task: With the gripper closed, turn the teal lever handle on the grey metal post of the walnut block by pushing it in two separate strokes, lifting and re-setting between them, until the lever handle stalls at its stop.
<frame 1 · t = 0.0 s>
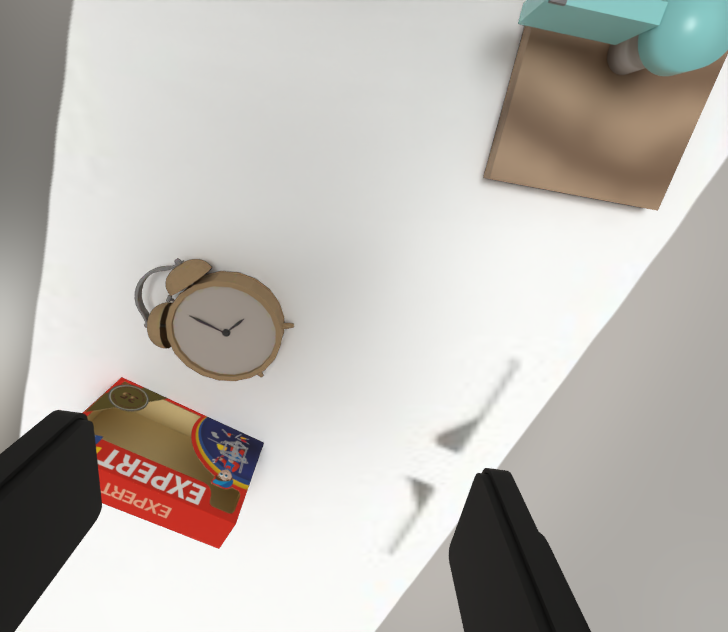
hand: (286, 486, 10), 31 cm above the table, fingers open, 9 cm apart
toy box: (190, 421, 47), on the table
teal lever handle: (624, 21, 26), point 7 cm above the table, hinge at 0.0°
alarm clock: (219, 311, 42), on the table
post block: (611, 59, 33), on the table
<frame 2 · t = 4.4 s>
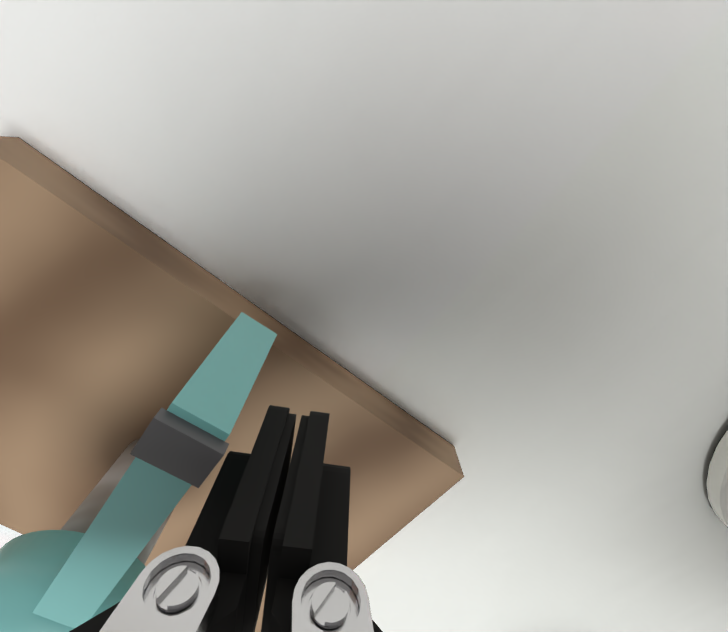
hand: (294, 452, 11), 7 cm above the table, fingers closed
teal lever handle: (125, 519, 11), point 7 cm above the table, hinge at 3.0°, touching gripper
post block: (178, 433, 19), on the table
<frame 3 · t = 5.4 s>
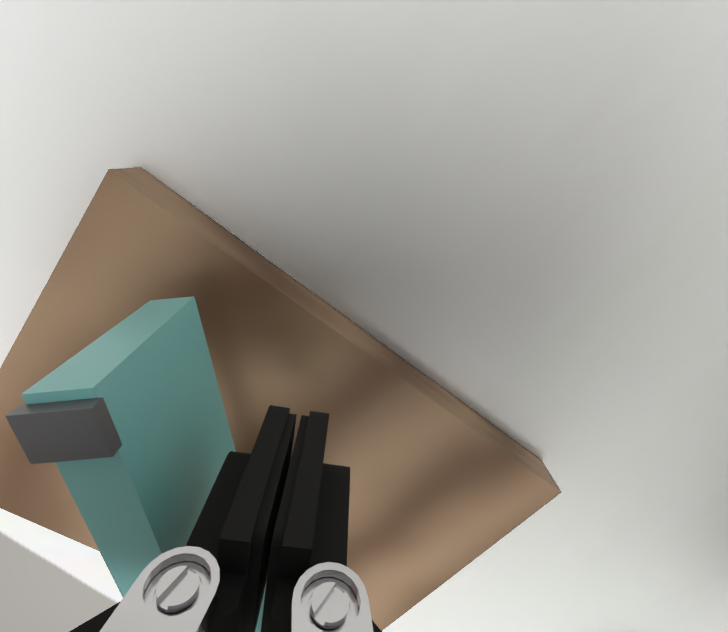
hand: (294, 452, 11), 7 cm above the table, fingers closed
teal lever handle: (197, 539, 11), point 7 cm above the table, hinge at 44.2°, touching gripper
post block: (271, 454, 19), on the table
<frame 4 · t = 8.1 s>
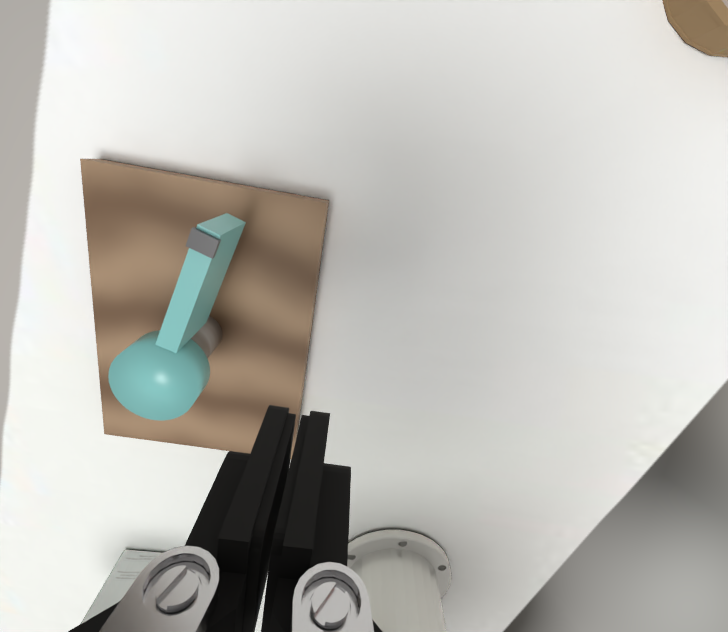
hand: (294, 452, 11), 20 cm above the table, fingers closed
teal lever handle: (187, 318, 23), point 7 cm above the table, hinge at 72.7°
skincare box: (167, 566, 42), on the table
post block: (212, 322, 31), on the table
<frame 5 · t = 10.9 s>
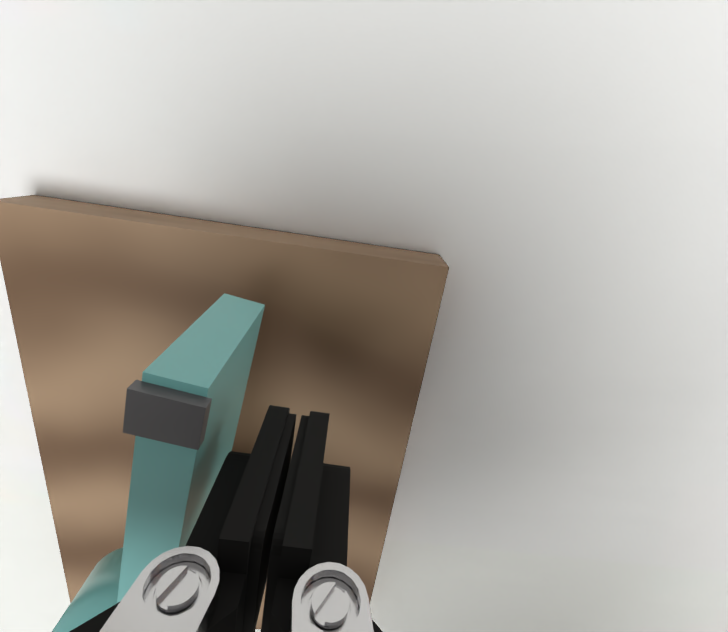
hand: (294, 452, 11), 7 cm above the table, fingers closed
teal lever handle: (181, 519, 11), point 7 cm above the table, hinge at 81.3°, touching gripper
post block: (235, 445, 20), on the table
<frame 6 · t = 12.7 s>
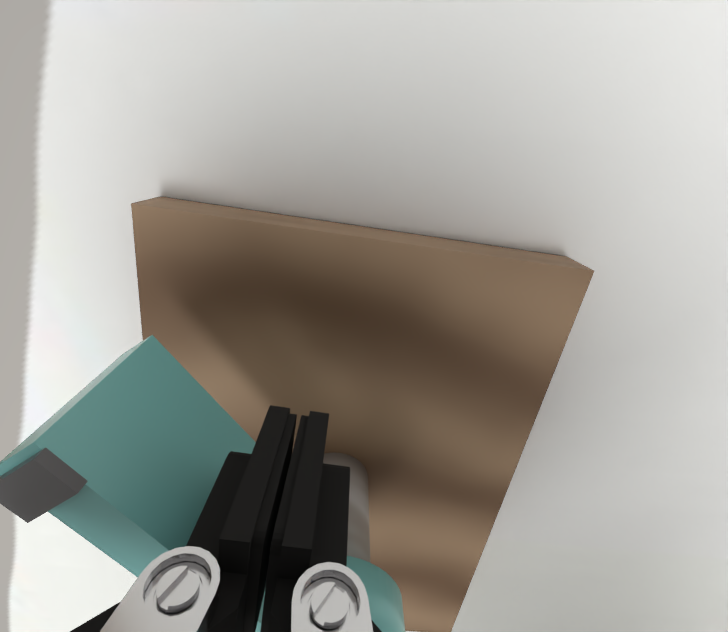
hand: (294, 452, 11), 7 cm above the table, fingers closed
teal lever handle: (252, 542, 11), point 7 cm above the table, hinge at 131.0°, touching gripper
post block: (337, 447, 19), on the table
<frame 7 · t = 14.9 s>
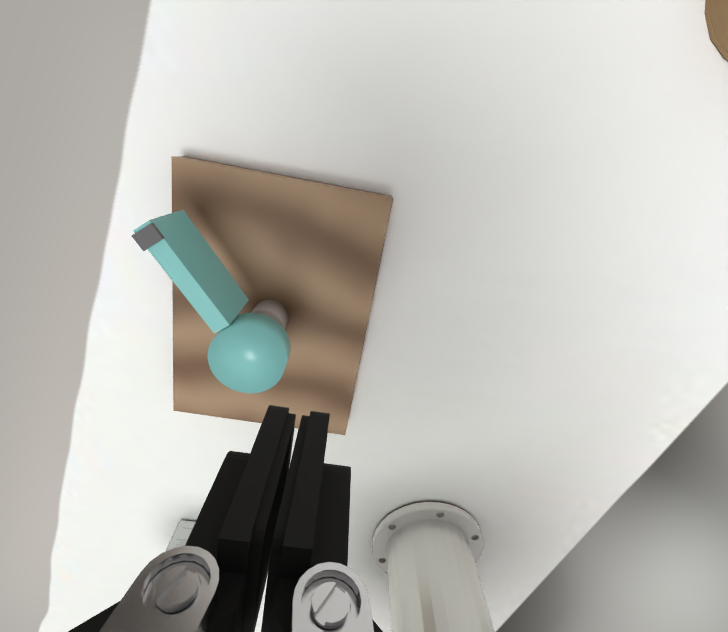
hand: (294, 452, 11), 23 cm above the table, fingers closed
teal lever handle: (221, 302, 26), point 7 cm above the table, hinge at 129.7°
skincare box: (218, 536, 45), on the table
post block: (276, 307, 34), on the table
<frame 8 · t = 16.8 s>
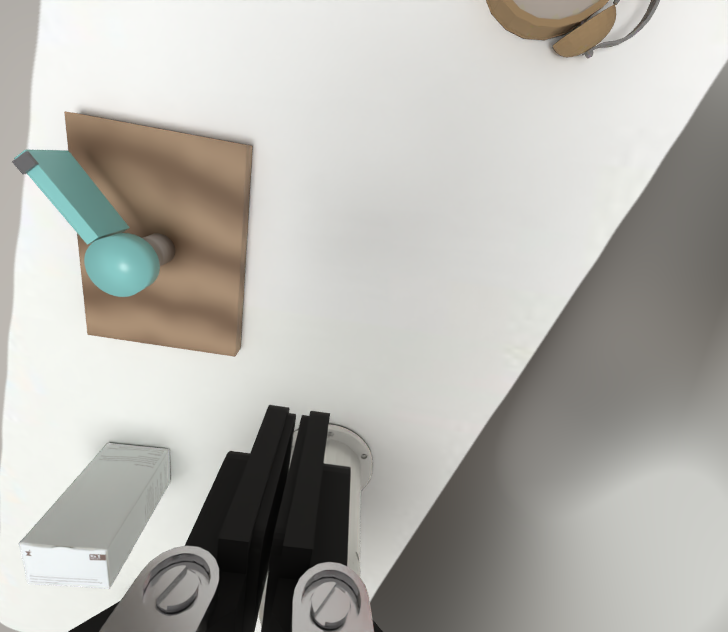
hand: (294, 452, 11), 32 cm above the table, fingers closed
teal lever handle: (98, 224, 33), point 7 cm above the table, hinge at 129.7°
skincare box: (142, 459, 52), on the table
post block: (169, 244, 41), on the table
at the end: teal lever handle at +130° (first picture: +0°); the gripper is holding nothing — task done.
